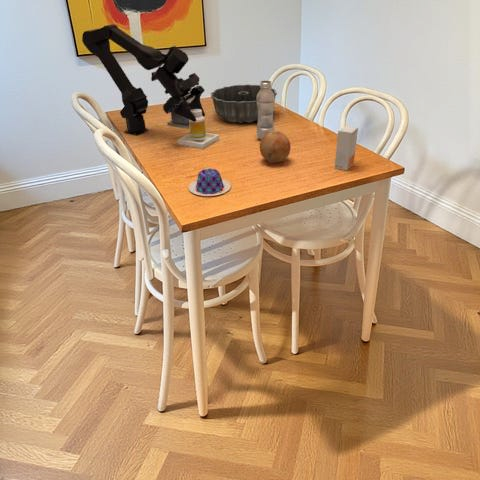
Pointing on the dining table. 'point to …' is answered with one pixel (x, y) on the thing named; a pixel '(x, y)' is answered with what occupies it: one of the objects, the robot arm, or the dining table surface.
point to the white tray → (198, 141)
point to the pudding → (209, 183)
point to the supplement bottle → (197, 125)
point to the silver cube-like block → (179, 119)
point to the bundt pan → (237, 102)
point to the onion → (275, 146)
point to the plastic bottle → (265, 109)
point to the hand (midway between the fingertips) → (200, 118)
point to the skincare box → (346, 147)
